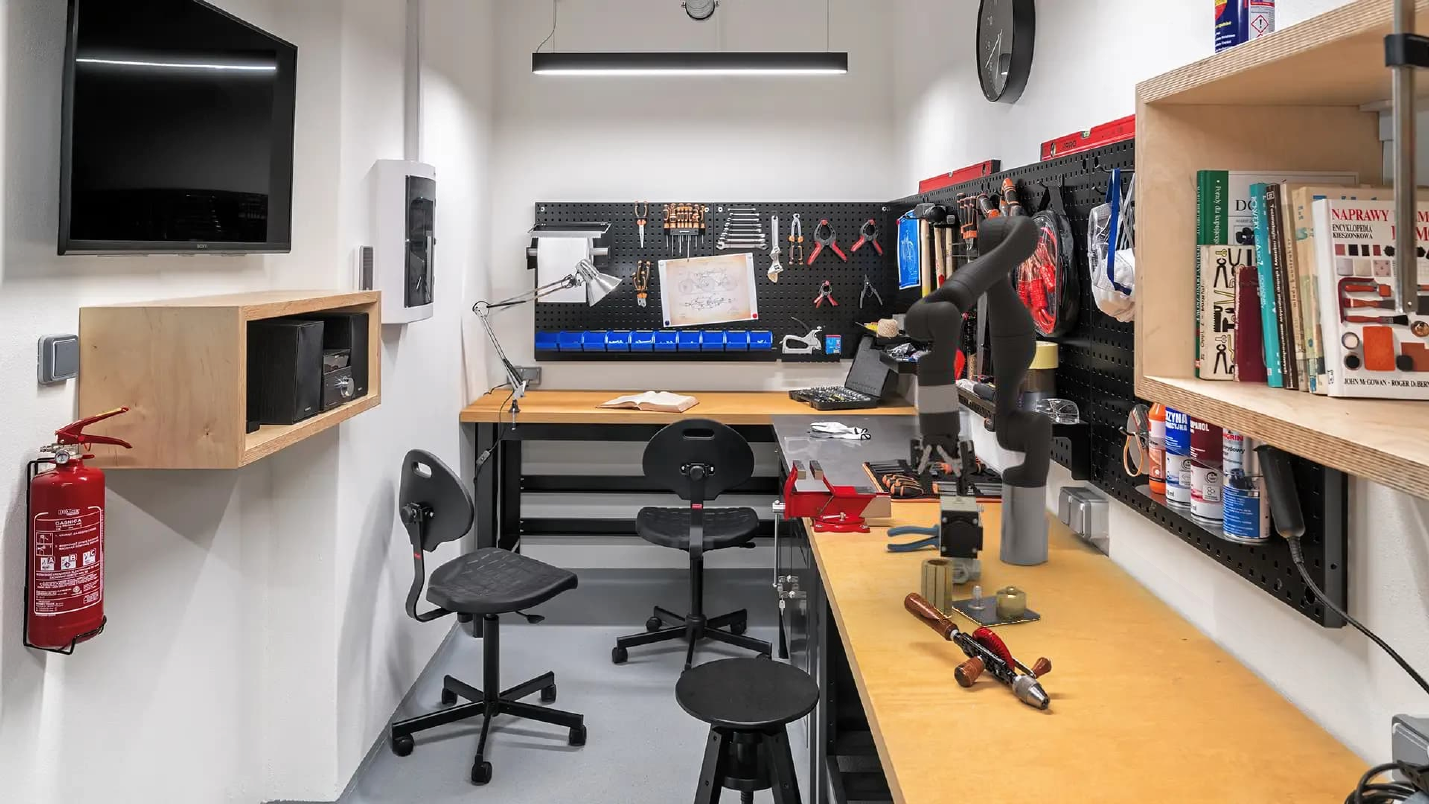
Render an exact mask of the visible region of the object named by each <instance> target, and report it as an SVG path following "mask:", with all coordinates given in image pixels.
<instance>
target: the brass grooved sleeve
mask: <svg viewBox="0 0 1429 804" xmlns="http://www.w3.org/2000/svg"><path fill="white" fill-rule="evenodd" d="M920 569H921V571H920V572H921V575H920V576H921V577H920V578H921V579H920V598H921V597H923V599H925V600H926V601H927V602H928V603H929V604H930V605H931V606H933V607H935V608H936V609H938V610H939V611H940V612H942V613H943V615H946V616H947V617H949V616H951V615H952V616H953V609H952V601H954V599H953V597H954V595H953V594H954V591H953V590H954V589H953V588H954V583H953V562H952V561H950V560H947V559H946V558H943V557H940V558H939V557H930V558H929V557H928V558H924V559H922V560H921V568H920Z"/></svg>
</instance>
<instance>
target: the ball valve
mask: <svg viewBox="0 0 1429 804" xmlns="http://www.w3.org/2000/svg"><path fill="white" fill-rule="evenodd" d="M984 512H985V506H984V504H983V503H977V499H976V496H971V495H970V496H969V495H968V496H967V495H966V496H957V494H956V495H947V494H946V495H945V494H944V495H943V494H940V496H939V524H938V525H939V543H940V547H939V554H940V555H939V556H940V558H945V559H947V560H950V561H952V562H953V584H955V583H961V584H964V583H965V582H966V581H974V579H975V580H977V579H978V580H980V579H981V576H982V575H981V573H982V571H981V570H982V567H981V565H982V563H981V559H978V553H979V552H983V551H984V550H983V547H984V525H983V521H982V516H981V513H984Z"/></svg>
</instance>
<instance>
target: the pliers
mask: <svg viewBox="0 0 1429 804" xmlns="http://www.w3.org/2000/svg"><path fill="white" fill-rule="evenodd" d="M939 525H940V524H939V523H935V524H934V525H933V527H924V526H915V525H903V526H902V525H901V526H895V527H892V528H889V529H887V531H886V533H887V536H888V537H889V538H892V537H896V536H903V535H911V534H912V535H923V536H930V537H927V538H923V539H920V540H916V541H912V542H907V543H900V544H899V543H898V544H897V543H888V544H887V549H888V550H889V551H892V552H902V553H903V552H910V551H915V550H919V549H923V548H926V547H928V546H934V547H935V548H937V549H940V543H939Z"/></svg>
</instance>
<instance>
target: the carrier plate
mask: <svg viewBox="0 0 1429 804" xmlns="http://www.w3.org/2000/svg"><path fill="white" fill-rule="evenodd" d="M972 595H973V596H972V598H965V599H957V600H953V601H952V606H953V607H954V608H955V609H958V610H959V611H960V612H963V613H964V614H965V615H967V616H968V617H970V618H972V619H973V620H975V621H976V622H978V623H981V625H982V626H988V625H995V624H1001V623H1012V622H1017V621H1021V620H1033V619H1039V618H1040V619H1041V617H1042V616H1041V615H1040V614H1039V613H1037V612H1035V611H1034V610H1032V609H1029V608H1027V607H1026V617H1025V618H1023V619H1018V620H1012V619H1005V618H1002V617H999V616H998V615H997V614H996V598H997V594H996V595H988V596H982V587H981V586H980V585H974V586H973V593H972ZM982 626H981V627H982Z"/></svg>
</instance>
